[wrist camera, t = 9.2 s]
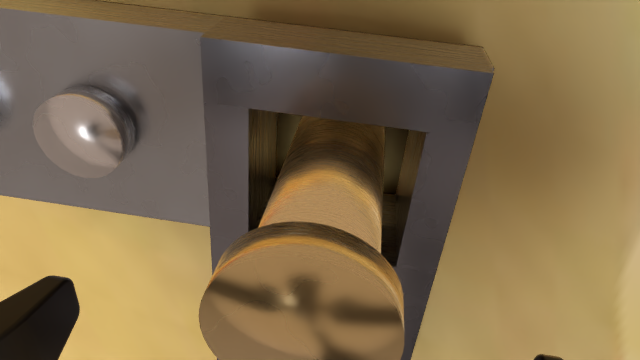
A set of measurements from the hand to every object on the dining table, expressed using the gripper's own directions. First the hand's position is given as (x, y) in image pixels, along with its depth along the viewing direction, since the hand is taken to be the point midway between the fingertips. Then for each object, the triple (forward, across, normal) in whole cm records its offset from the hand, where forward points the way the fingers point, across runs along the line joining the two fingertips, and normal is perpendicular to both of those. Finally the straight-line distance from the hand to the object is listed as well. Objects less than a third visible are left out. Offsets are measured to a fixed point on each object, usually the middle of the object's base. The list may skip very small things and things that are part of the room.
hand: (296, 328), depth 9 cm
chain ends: (+9, +6, +4) cm, 11 cm away
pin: (+9, 0, 0) cm, 9 cm away
